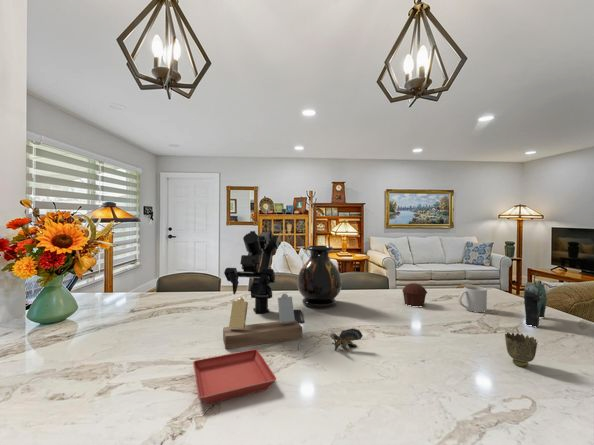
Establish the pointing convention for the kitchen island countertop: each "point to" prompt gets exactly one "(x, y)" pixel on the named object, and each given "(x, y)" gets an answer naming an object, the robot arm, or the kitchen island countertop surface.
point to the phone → (298, 316)
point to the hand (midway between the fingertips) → (245, 294)
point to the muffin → (414, 294)
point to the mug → (474, 298)
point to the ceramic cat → (534, 302)
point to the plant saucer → (232, 375)
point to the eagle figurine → (346, 338)
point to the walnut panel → (261, 334)
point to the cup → (521, 348)
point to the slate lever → (286, 309)
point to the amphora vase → (319, 279)
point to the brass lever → (238, 314)
